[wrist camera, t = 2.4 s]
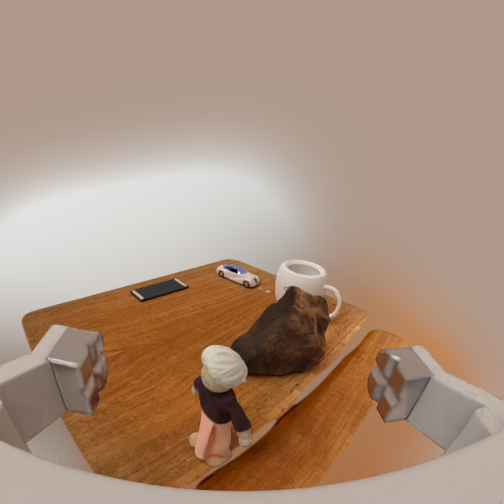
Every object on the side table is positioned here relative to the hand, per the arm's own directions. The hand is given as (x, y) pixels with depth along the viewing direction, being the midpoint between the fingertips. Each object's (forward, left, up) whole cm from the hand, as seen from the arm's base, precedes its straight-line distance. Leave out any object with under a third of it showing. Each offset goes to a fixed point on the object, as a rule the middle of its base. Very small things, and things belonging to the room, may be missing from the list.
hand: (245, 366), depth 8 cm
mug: (+15, +38, -20) cm, 46 cm away
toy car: (+5, +49, -20) cm, 53 cm away
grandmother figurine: (0, +10, -20) cm, 22 cm away
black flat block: (-10, +42, -20) cm, 48 cm away
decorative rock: (+8, +24, -20) cm, 32 cm away
